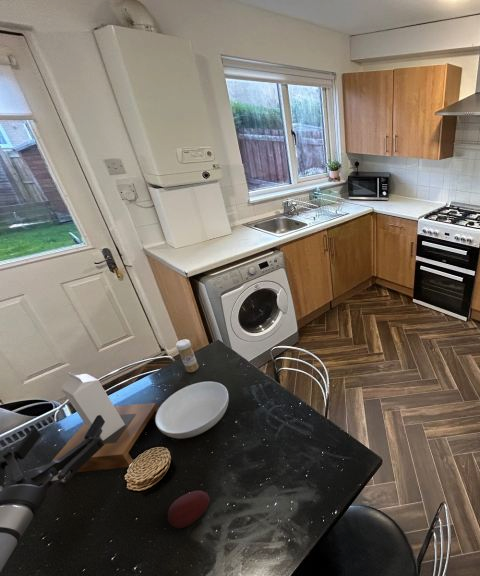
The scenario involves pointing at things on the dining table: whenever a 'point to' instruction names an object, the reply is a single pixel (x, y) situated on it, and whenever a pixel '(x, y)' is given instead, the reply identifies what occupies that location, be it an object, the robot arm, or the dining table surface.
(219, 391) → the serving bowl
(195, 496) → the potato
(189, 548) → the dining table surface
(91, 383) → the milk
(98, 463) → the wooden serving tray
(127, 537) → the dining table surface
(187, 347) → the sprinkles bottle
